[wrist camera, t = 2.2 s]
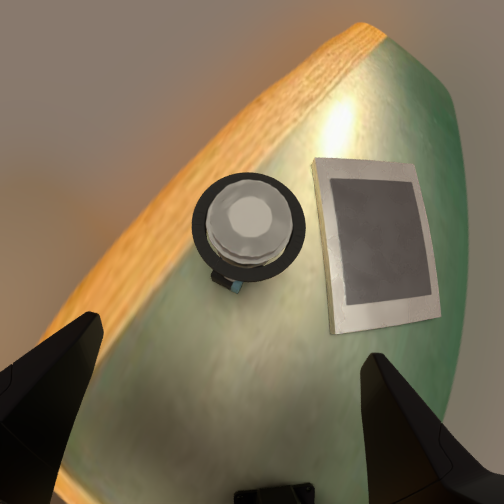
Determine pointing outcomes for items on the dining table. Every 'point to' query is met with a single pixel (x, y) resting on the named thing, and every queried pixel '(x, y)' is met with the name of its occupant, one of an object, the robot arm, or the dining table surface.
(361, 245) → the mounting plate
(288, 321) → the dining table surface
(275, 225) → the push button
